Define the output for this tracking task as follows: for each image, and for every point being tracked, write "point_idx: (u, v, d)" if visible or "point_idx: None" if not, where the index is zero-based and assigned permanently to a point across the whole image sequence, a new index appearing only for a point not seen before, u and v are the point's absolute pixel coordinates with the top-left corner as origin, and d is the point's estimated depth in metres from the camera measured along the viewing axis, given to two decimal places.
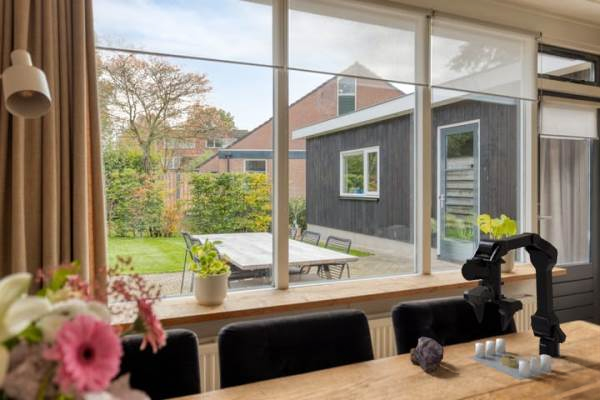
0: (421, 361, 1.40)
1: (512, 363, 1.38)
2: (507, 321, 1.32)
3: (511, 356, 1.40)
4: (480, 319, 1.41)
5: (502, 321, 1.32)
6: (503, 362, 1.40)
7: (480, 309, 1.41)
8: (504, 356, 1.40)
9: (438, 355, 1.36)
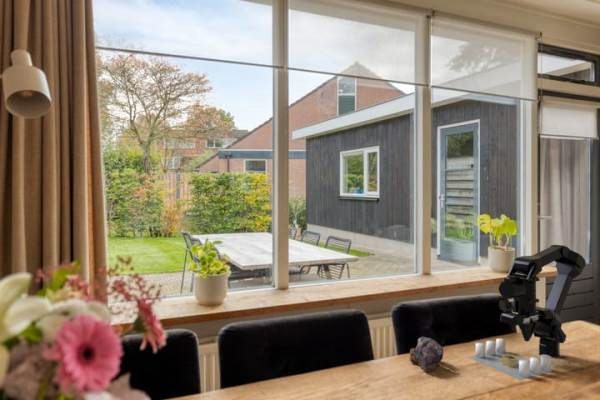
0: (421, 361, 1.40)
1: (512, 363, 1.38)
2: (525, 333, 1.42)
3: (511, 356, 1.40)
4: None
5: None
6: (503, 362, 1.40)
7: None
8: (504, 356, 1.40)
9: (438, 355, 1.36)
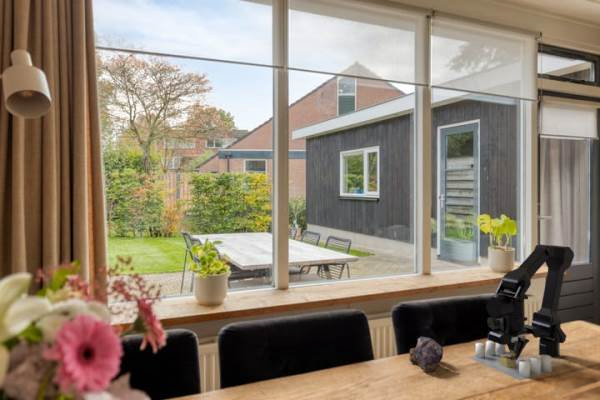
0: (420, 361, 1.40)
1: (510, 363, 1.37)
2: (513, 351, 1.40)
3: (510, 357, 1.40)
4: (514, 356, 1.41)
5: None
6: (501, 362, 1.39)
7: None
8: (502, 356, 1.40)
9: (437, 355, 1.36)
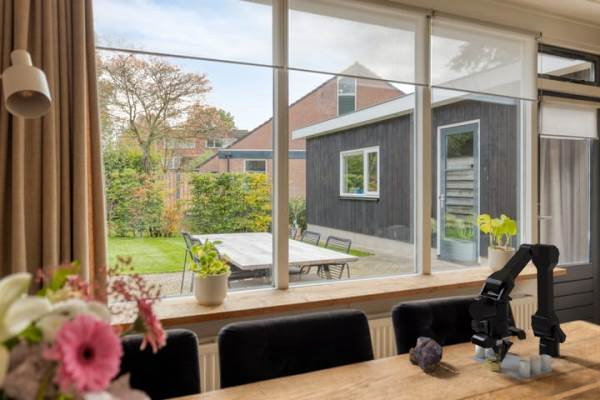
0: (420, 361, 1.40)
1: (494, 367, 1.35)
2: (497, 355, 1.37)
3: (494, 360, 1.37)
4: None
5: None
6: (486, 366, 1.37)
7: None
8: (486, 360, 1.38)
9: (437, 355, 1.36)
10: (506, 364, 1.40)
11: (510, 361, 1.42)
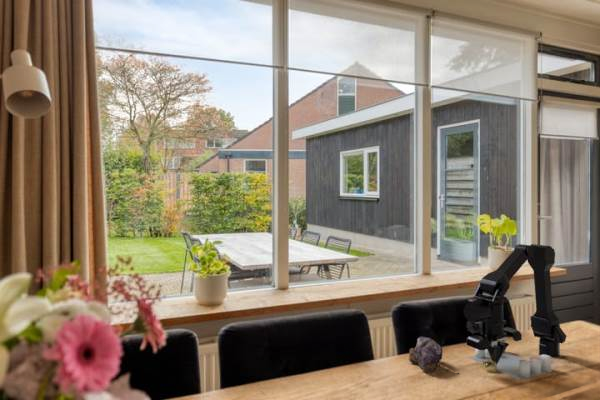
0: (420, 361, 1.40)
1: (490, 370, 1.34)
2: (493, 356, 1.36)
3: (489, 362, 1.36)
4: (494, 361, 1.37)
5: None
6: None
7: None
8: (482, 363, 1.37)
9: (437, 355, 1.36)
10: (506, 364, 1.40)
11: (510, 361, 1.42)
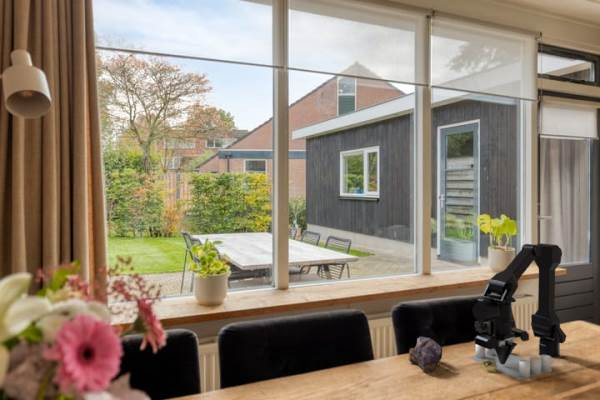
0: (420, 361, 1.40)
1: (490, 370, 1.34)
2: (500, 355, 1.37)
3: (489, 362, 1.36)
4: None
5: None
6: None
7: None
8: (482, 363, 1.37)
9: (436, 355, 1.36)
10: (506, 364, 1.40)
11: (510, 361, 1.42)
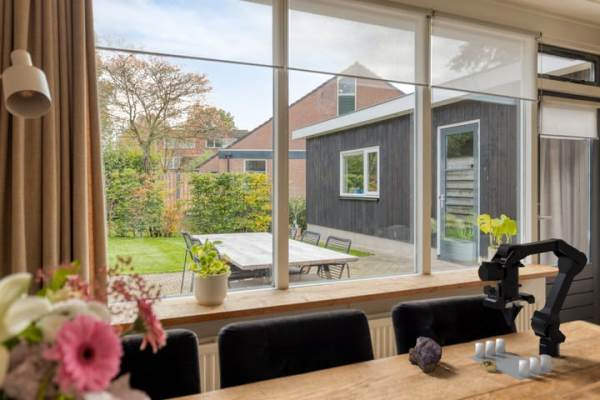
0: (419, 361, 1.40)
1: (490, 370, 1.34)
2: (508, 317, 1.45)
3: (489, 362, 1.36)
4: None
5: None
6: None
7: None
8: (482, 363, 1.37)
9: (436, 355, 1.36)
10: (506, 364, 1.40)
11: (510, 361, 1.42)
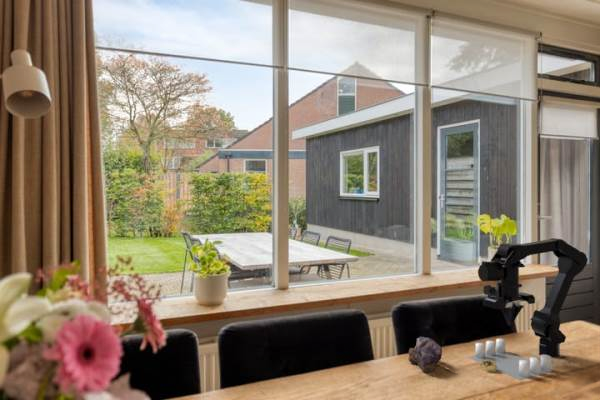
0: (419, 361, 1.40)
1: (490, 370, 1.34)
2: (507, 317, 1.45)
3: (489, 362, 1.36)
4: None
5: None
6: None
7: None
8: (482, 363, 1.37)
9: (436, 355, 1.36)
10: (506, 364, 1.40)
11: (510, 361, 1.42)
